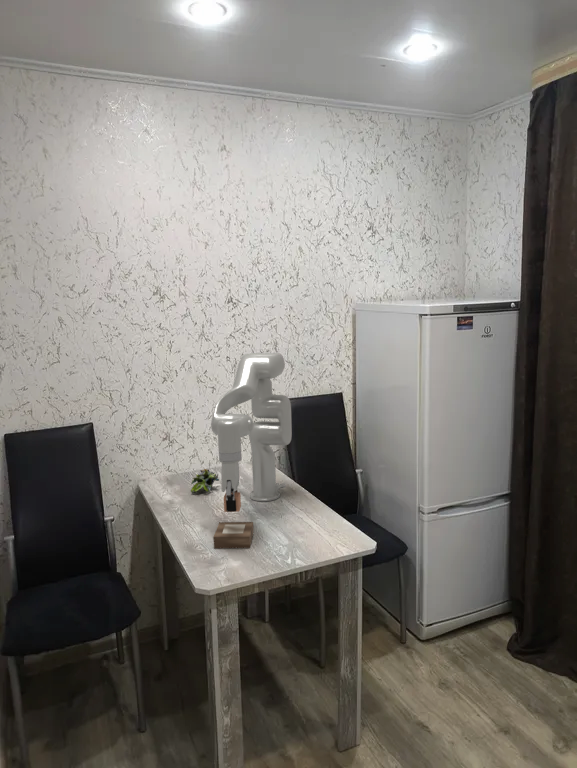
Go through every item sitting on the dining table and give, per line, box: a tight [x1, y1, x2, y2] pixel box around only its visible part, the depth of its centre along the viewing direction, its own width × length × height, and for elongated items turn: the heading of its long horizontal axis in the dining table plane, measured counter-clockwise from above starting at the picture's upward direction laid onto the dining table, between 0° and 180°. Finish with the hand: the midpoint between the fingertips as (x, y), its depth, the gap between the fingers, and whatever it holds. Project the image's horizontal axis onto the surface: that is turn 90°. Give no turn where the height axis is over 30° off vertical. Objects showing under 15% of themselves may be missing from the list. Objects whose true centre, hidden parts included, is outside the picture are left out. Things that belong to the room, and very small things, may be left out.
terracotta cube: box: [223, 491, 242, 513], centre depth 189 cm, size 5×5×5 cm
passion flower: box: [190, 468, 220, 495], centre depth 239 cm, size 11×11×12 cm
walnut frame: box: [212, 521, 255, 549], centre depth 191 cm, size 12×12×4 cm
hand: (232, 507), depth 189 cm, fingers closed on terracotta cube, 4 cm apart
